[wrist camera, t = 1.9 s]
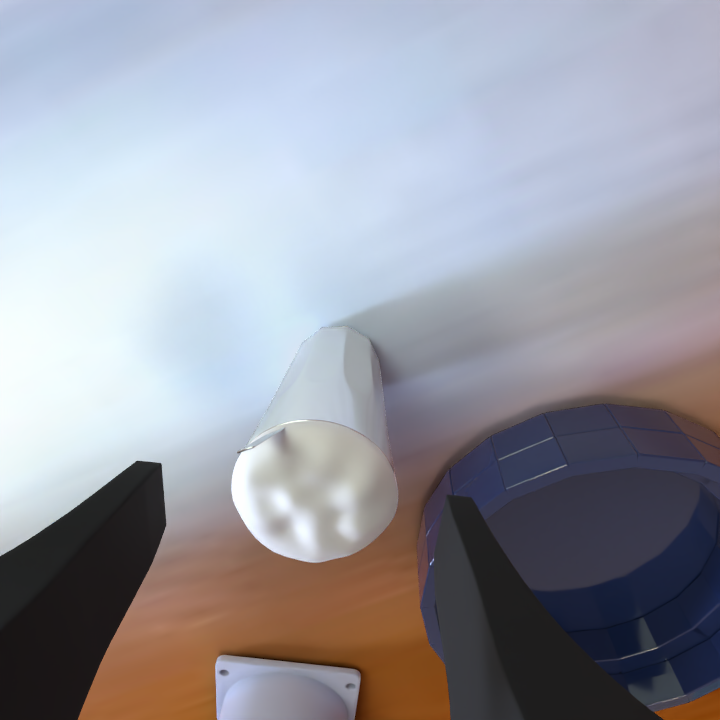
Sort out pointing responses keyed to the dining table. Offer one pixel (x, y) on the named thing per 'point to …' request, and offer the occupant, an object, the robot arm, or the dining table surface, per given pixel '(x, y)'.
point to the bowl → (605, 538)
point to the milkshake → (320, 454)
